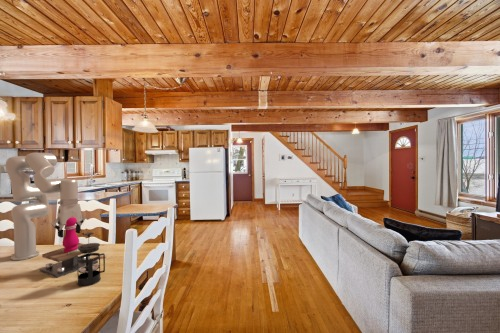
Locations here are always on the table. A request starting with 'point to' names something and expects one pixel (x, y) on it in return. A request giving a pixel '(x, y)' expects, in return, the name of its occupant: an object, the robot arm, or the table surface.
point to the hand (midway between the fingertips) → (69, 234)
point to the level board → (61, 254)
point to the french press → (89, 264)
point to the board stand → (64, 267)
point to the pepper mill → (70, 236)
